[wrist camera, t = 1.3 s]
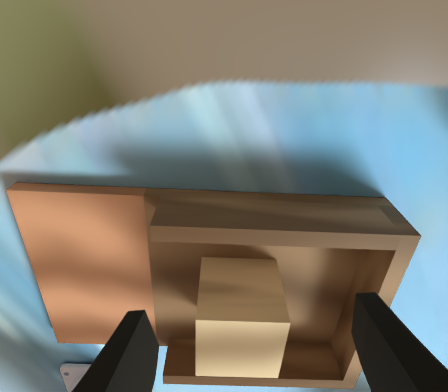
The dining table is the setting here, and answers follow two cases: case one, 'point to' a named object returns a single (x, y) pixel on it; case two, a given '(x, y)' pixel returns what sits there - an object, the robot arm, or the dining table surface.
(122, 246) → the brown wooden tray
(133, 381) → the robot arm
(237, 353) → the maple block
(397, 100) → the dining table surface
